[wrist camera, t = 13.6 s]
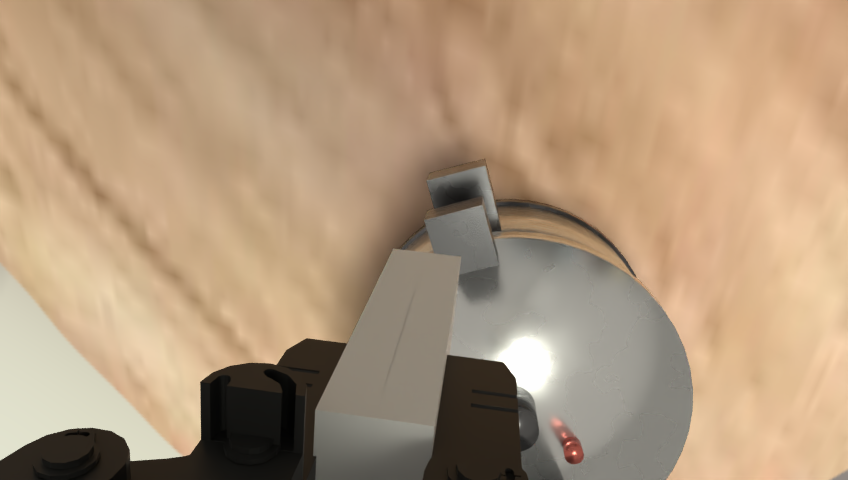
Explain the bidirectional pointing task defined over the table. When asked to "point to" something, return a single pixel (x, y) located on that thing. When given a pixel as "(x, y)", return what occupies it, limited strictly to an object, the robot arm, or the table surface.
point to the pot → (508, 212)
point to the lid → (569, 349)
